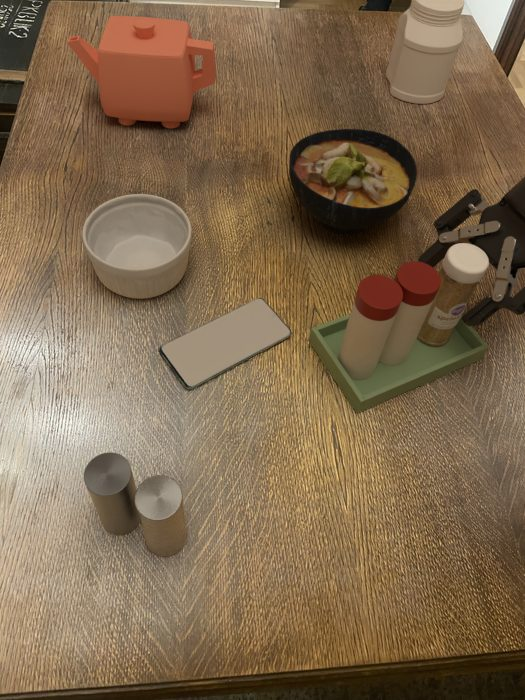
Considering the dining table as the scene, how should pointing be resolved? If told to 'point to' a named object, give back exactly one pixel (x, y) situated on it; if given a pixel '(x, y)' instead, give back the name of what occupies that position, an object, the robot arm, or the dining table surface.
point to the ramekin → (138, 244)
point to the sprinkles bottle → (453, 291)
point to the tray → (399, 378)
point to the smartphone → (224, 342)
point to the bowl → (351, 177)
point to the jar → (425, 50)
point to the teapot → (147, 68)
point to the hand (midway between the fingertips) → (442, 295)
